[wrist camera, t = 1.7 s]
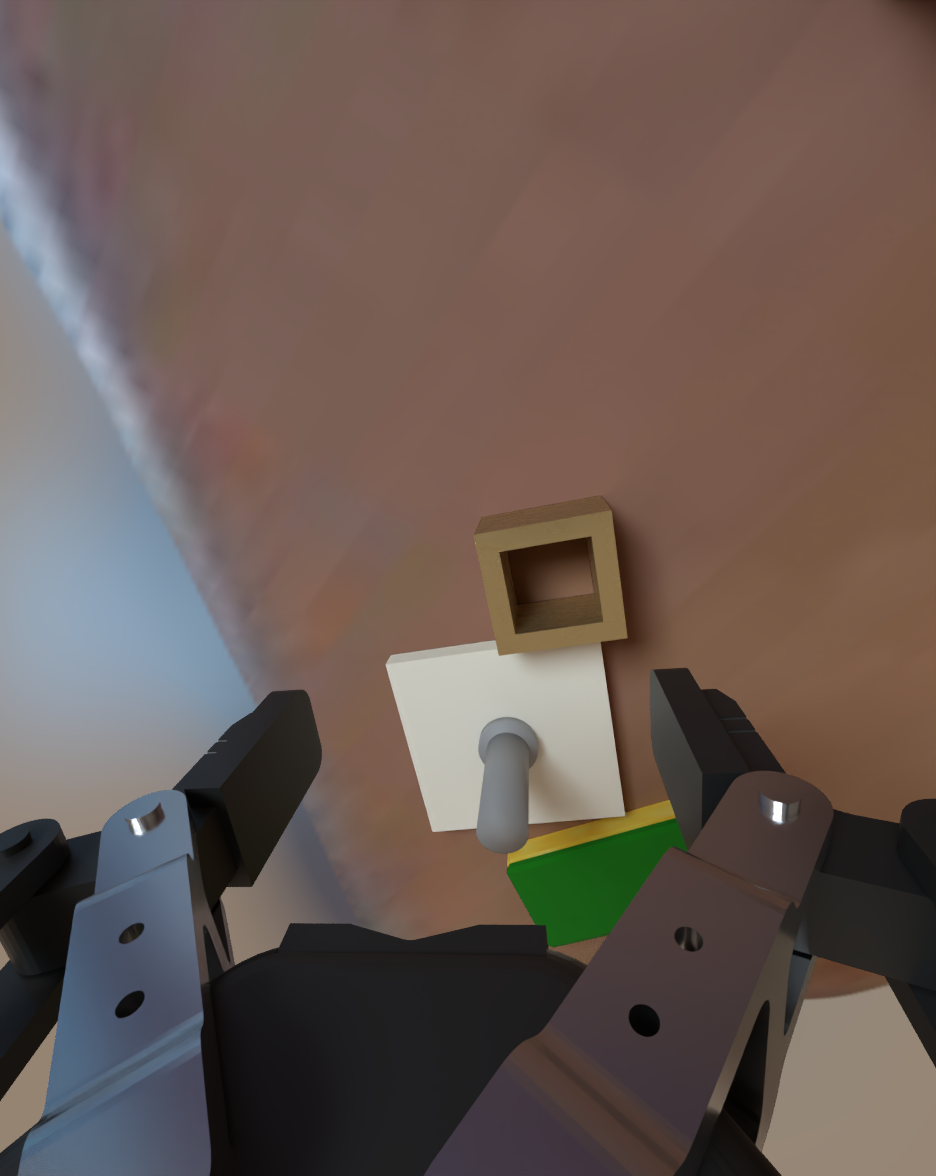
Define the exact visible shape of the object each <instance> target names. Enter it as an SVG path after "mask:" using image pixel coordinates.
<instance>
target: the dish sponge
mask: <svg viewBox="0 0 936 1176" xmlns="http://www.w3.org/2000/svg"><path fill="white" fill-rule="evenodd" d="M673 846H675V847H678V848H680V849H682V850H684V851H687V852H688V850H687V848H686V845H685V842H684V839H683V836H682V834H681V831H680V828H679V825H678V822H677V820H676V817H675V814H674V811H673V808H672V805H671V803H670V800H667V801H663V802H660V803H656V804H653V805H649V806H646V807H642V808H639V809H635V810H632V811H628V812H625V816H621V817H609V818H603V819H600V820H596V821H593V822H589V823H586V824H582V825H579V826H575V827H572V828H568V829H565V830H561V831H558V832H554V833H551V834H547V835H544V836H540V837H537V838H533V839H529V840H527V842H526V844H525V845H524V846H523V847H522V848H521V849H520V850H518V851H516V852H513V853H508V860H507V866H508V868H507V875H508V876H509V878H510V880H511V882H512V884H513V885H514V887H515V889H516V891H517V893H518V894H519V896H520V898H521V900H522V901H523V903H524V905H525V907H526V909H527V910H528V912H529V914H530V916H531V918H532V919H533V921H534V923H535V925H546V931H547V941H548V946H551V947H558V946H562V945H566V944H571V943H575V942H579V941H584V940H588V939H592V938H597V937H601V936H605V935H609V933H610V932H611V931H612V929H613V928H614V926H615V925H616V923H617V922H618V920H619V919H620V917H621V916H622V914H623V913H624V912H625V910H626V909H627V907H628V906H629V904H630V903H631V901H632V900H633V898H634V897H635V895H636V894H637V893H638V891H639V890H640V888H641V887H642V885H643V884H644V882H645V881H646V879H647V878H648V877H649V875H650V874H651V872H652V871H653V869H654V868H655V866H656V865H657V863H658V862H659V860H660V859H661V858H662V856H663V855H664V853H665V852H666V851H667V850H668V849H669V848H671V847H673Z"/></svg>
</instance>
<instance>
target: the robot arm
mask: <svg viewBox="0 0 936 1176" xmlns="http://www.w3.org/2000/svg"><path fill="white" fill-rule="evenodd" d="M650 716H651V740H652V747H653V753H654V757H655V760H656V763H657V766H658V769H659V772H660V775H661V777H662V780H663V783H664V786H665V789H666V791H667V794H668V797H669V800H670V803H671V805H672V808H673V811H674V814H675V817H676V820H677V822H678V825H679V828H680V831H681V834H682V836H683V839H684V842H685V845H686V848H687V850H688V852H687V851H684V850H682V849H680V848H678V847H675V846H673V847H671V848H669V849H668V850H667V851H666V852H665V853H664V855H663V856H662V858H661V859H660V860H659V862H658V863H657V865H656V866H655V868H654V869H653V871H652V872H651V874H650V875H649V877H648V878H647V879H646V881H645V882H644V884H643V885H642V887H641V888H640V890H639V891H638V893H637V894H636V895H635V897H634V898H633V900H632V901H631V903H630V904H629V906H628V907H627V909H626V910H625V912H624V913H623V914H622V916H621V917H620V919H619V920H618V922H617V923H616V925H615V926H614V928H613V929H612V931H611V932H610V933H609V935H608V936H607V938H606V939H605V941H604V942H603V944H602V945H601V947H600V948H599V950H598V951H597V952H596V954H595V955H594V957H593V958H592V960H591V961H590V963H589V964H588V965H586V964H584V963H582V962H580V961H579V960H577V959H575V958H572V957H570V956H567V955H565V954H563V953H560V952H556V951H553V950H549V949H548V941H547V931H546V925H476V926H472V927H468V928H464V929H459V930H455V931H451V932H447V933H443V934H438V935H434V936H430V937H426V938H421V939H417V940H404V939H400V938H397V937H393V936H390V935H387V934H383V933H380V932H376V931H373V930H369V929H366V928H362V927H359V926H355V925H352V924H304V923H303V924H301V923H299V924H298V923H297V924H296V923H293V924H292V923H291V924H290V925H289V927H288V929H287V931H286V934H285V936H284V938H283V940H282V942H281V945H280V947H279V948H275V949H272V950H269V951H266V952H263V953H260V954H257V955H255V956H253V957H251V958H249V959H247V960H244V961H242V962H241V963H239V964H237V965H235V962H234V957H233V951H232V945H231V940H230V935H229V929H228V923H227V918H226V913H225V908H224V905H223V902H222V900H221V895H222V893H223V892H224V890H225V889H226V887H252V886H253V884H254V882H255V880H256V879H257V877H258V875H259V874H260V872H261V870H262V868H263V867H264V865H265V863H266V861H267V860H268V858H269V856H270V854H271V853H272V851H273V849H274V847H275V846H276V844H277V842H278V841H279V839H280V837H281V835H282V834H283V832H284V830H285V828H286V827H287V825H288V823H289V822H290V820H291V818H292V816H293V815H294V813H295V811H296V809H297V807H298V806H299V804H300V802H301V801H302V799H303V797H304V796H305V794H306V792H307V790H308V789H309V787H310V785H311V783H312V782H313V780H314V778H315V776H316V775H317V773H318V771H319V768H320V764H321V758H322V749H321V743H320V739H319V735H318V731H317V727H316V723H315V718H314V714H313V710H312V706H311V702H310V699H309V696H308V694H307V692H306V691H304V690H288V691H273V692H271V693H270V694H269V695H268V696H267V697H266V698H265V699H264V700H263V701H262V702H261V704H260V705H259V706H258V707H257V708H256V709H255V710H254V711H253V713H250V714H249V715H247V716H245V717H244V718H242V719H241V720H239V721H238V722H236V723H235V724H233V725H232V726H231V727H230V728H229V729H228V730H227V731H226V732H225V733H224V734H223V735H222V736H221V737H220V739H219V741H218V742H217V743H215V744H214V745H213V746H212V747H211V748H210V749H209V750H208V754H205V755H204V756H203V757H202V758H201V759H200V760H199V761H198V762H197V763H196V764H195V765H194V766H193V768H192V769H191V770H190V771H189V772H188V773H187V774H186V775H185V776H184V777H183V778H182V779H181V780H180V781H179V783H178V784H177V785H176V786H175V787H174V788H173V789H172V790H163V791H158V792H154V793H151V794H147V795H145V796H142V797H140V798H138V799H136V800H134V801H132V802H130V803H128V804H127V805H125V806H124V807H122V808H121V809H119V810H118V811H117V812H116V813H115V814H113V815H112V816H111V817H110V818H109V819H108V821H107V822H106V823H105V825H104V827H103V829H102V831H99V832H95V833H91V834H88V835H84V836H79V837H75V838H71V839H67V840H66V838H65V836H64V834H63V831H62V829H61V827H60V825H59V823H58V822H57V821H56V820H53V819H38V820H34V821H30V822H26V823H23V824H21V825H18V826H15V827H13V828H11V829H9V830H6V831H5V832H3V833H1V834H0V942H1V944H2V946H3V947H4V949H5V951H6V953H7V955H8V957H9V959H10V960H9V961H8V962H7V964H6V965H5V966H4V967H3V968H2V969H1V970H0V1101H1V1099H2V1098H3V1097H4V1095H5V1093H6V1092H7V1091H8V1090H9V1088H10V1087H11V1085H12V1084H13V1082H14V1081H15V1080H16V1078H17V1077H18V1076H19V1074H20V1073H21V1071H22V1070H23V1069H24V1067H25V1066H26V1064H27V1063H28V1061H29V1060H30V1059H31V1057H32V1056H33V1055H34V1053H35V1052H36V1050H37V1049H38V1048H39V1046H40V1045H41V1043H42V1042H43V1041H44V1039H45V1038H46V1036H47V1035H48V1034H49V1032H50V1031H51V1029H52V1028H53V1026H54V1025H55V1024H56V1022H57V1021H58V1022H57V1029H56V1036H55V1043H54V1049H53V1055H52V1062H51V1069H50V1075H49V1082H48V1088H47V1095H46V1102H45V1107H44V1111H43V1114H42V1117H41V1119H40V1120H39V1122H38V1123H37V1124H35V1125H34V1126H33V1127H32V1128H30V1129H29V1130H28V1131H27V1132H25V1133H24V1134H23V1135H22V1136H21V1137H20V1138H18V1139H17V1140H16V1141H15V1142H13V1143H12V1144H11V1145H10V1146H8V1147H7V1148H6V1149H5V1150H3V1151H2V1152H1V1153H0V1176H781V1174H780V1173H779V1172H778V1171H777V1170H776V1169H775V1167H774V1166H773V1165H772V1164H771V1163H770V1162H769V1161H768V1159H767V1158H766V1157H765V1156H764V1155H763V1154H762V1149H763V1146H764V1143H765V1139H766V1136H767V1133H768V1129H769V1126H770V1122H771V1118H772V1115H773V1111H774V1107H775V1102H776V1098H777V1093H778V1088H779V1083H780V1077H781V1073H782V1068H783V1064H784V1060H785V1057H786V1053H787V1050H788V1047H789V1044H790V1041H791V1038H792V1035H793V1031H794V1028H795V1025H796V1022H797V1019H798V1016H799V1013H800V1010H801V1006H802V1003H803V1000H804V997H805V994H806V991H807V988H808V985H809V982H810V978H811V975H812V972H813V969H814V966H815V963H816V960H817V956H818V957H821V958H824V959H828V960H831V961H835V962H838V963H841V964H845V965H848V966H852V967H855V968H859V969H862V970H865V971H869V972H872V973H876V974H879V975H882V976H885V978H886V980H887V981H888V983H889V985H890V987H891V988H892V990H893V992H894V994H895V996H896V997H897V999H898V1001H899V1003H900V1005H901V1006H902V1008H903V1010H904V1012H905V1014H906V1015H907V1017H908V1019H909V1021H910V1023H911V1024H912V1026H913V1028H914V1030H915V1032H916V1033H917V1035H918V1037H919V1039H920V1040H921V1042H922V1044H923V1046H924V1048H925V1049H926V1051H927V1053H928V1055H929V1056H930V1058H931V1060H932V1062H933V1064H934V1065H935V1067H936V799H923V800H917V801H914V802H911V803H909V804H908V805H906V806H905V808H904V809H903V810H902V814H901V819H900V823H894V822H889V821H883V820H878V819H873V818H867V817H862V816H857V815H852V814H848V813H844V812H841V811H838V810H835V809H833V807H832V805H831V802H830V801H829V800H828V798H827V797H826V796H825V795H824V794H823V793H822V792H821V791H820V790H819V789H817V788H816V787H815V786H813V785H811V784H810V783H808V782H806V781H804V780H802V779H800V778H797V777H795V776H792V775H788V774H786V773H785V771H784V770H783V768H782V767H781V766H780V764H779V763H778V761H777V760H776V758H775V757H774V756H773V754H772V753H771V751H770V750H769V748H768V747H767V746H766V744H765V743H764V741H763V740H762V738H761V737H760V736H759V734H758V733H757V732H755V728H754V727H753V726H752V724H751V723H750V721H749V720H748V719H746V716H745V714H744V713H743V711H742V710H741V708H740V707H739V706H738V704H737V703H736V701H734V700H733V699H731V698H730V697H728V696H726V695H725V694H723V693H722V692H720V691H719V690H717V689H705V690H701V689H700V688H699V686H698V684H697V683H696V681H695V679H694V678H693V676H692V674H691V673H690V671H689V670H688V669H687V668H673V669H656V670H651V673H650Z"/></svg>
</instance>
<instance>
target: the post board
mask: <svg viewBox="0 0 936 1176" xmlns="http://www.w3.org/2000/svg"><path fill="white" fill-rule="evenodd" d="M386 668H387V671H388V675H389V678H390V682H391V685H392V689H393V693H394V696H395V700H396V703H397V707H398V710H399V714H400V717H401V721H402V725H403V728H404V732H405V735H406V739H407V742H408V746H409V749H410V753H411V757H412V760H413V764H414V767H415V771H416V774H417V778H418V782H419V785H420V789H421V792H422V796H423V799H424V803H425V806H426V810H427V814H428V817H429V821H430V824H431V828H432V831H433V832H438V831H450V830H462V829H474V828H476V834H477V837H478V840H479V841H480V843H481V844H482V845H483V846H484V847H485V848H487V849H489V850H490V851H493V852H496V853H501V854H508V853H513V852H516V851H518V850H520V849H521V848H522V847H523V846H524V845H525V844H526V842H527V840H528V824H535V823H548V822H560V821H572V820H584V819H597V818H609V817H621V816H625V811H624V803H623V796H622V789H621V782H620V775H619V768H618V761H617V754H616V747H615V740H614V733H613V726H612V719H611V712H610V705H609V698H608V691H607V684H606V677H605V670H604V663H603V656H602V649H601V642H596V643H589V644H582V645H574V646H567V647H560V648H552V649H545V650H538V651H531V652H523V653H516V654H509V655H502V656H499V654H498V650H497V645H496V640H493V641H486V642H479V643H472V644H465V645H459V646H452V647H445V648H438V649H431V650H424V651H417V652H410V653H403V654H396V655H391V656H390V658H389V659H388V661H387V663H386Z"/></svg>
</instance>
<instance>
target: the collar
mask: <svg viewBox="0 0 936 1176" xmlns="http://www.w3.org/2000/svg"><path fill="white" fill-rule="evenodd" d="M584 537H586V540H587V547H588V554H589V562H590V569H591V576H592V583H593V590H594V594H587V595H581V596H574V597H568V598H561V599H554V600H548V601H541V602H535V603H528V604H522V605H517V601H516V595H515V590H514V585H513V580H512V574H511V569H510V564H509V559H508V553H507V551H508V550H514V549H520V548H525V547H531V546H537V545H543V544H549V543H554V542H560V541H566V540H572V539H578V538H584ZM474 539H475V544H476V549H477V553H478V558H479V563H480V568H481V573H482V578H483V582H484V587H485V592H486V597H487V602H488V606H489V611H490V616H491V621H492V626H493V630H494V635H495V640H496V645H497V650H498V654H499V656H502V655H509V654H516V653H523V652H531V651H538V650H545V649H552V648H560V647H567V646H574V645H582V644H589V643H596V642H603V641H611V640H618V639H625V638H628V637H627V629H626V621H625V614H624V606H623V598H622V590H621V582H620V574H619V566H618V558H617V550H616V542H615V534H614V526H613V518H612V510H611V509H610V508H609V506H608V505H607V504H606V502H605V501H604V500H603V498H602V497H601V496H595V497H589V498H584V499H578V500H573V501H567V502H562V503H557V504H551V505H546V506H540V507H535V508H529V509H524V510H519V511H513V512H508V513H502V514H497V515H491V516H486V517H481V519H480V522H479V524H478V526H477V528H476V531H475V533H474Z"/></svg>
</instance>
